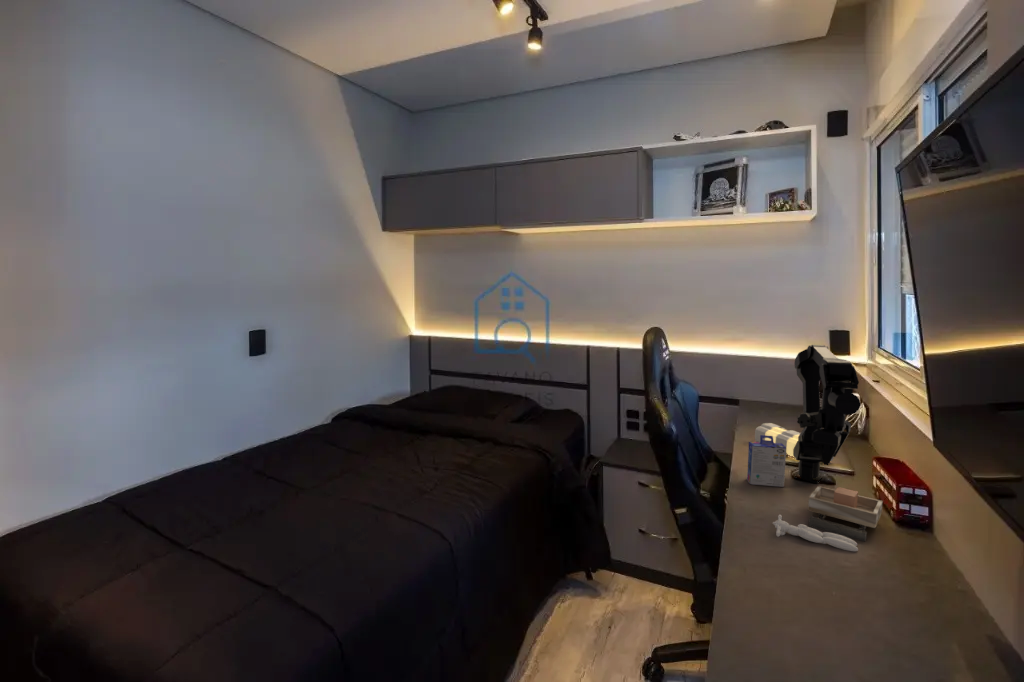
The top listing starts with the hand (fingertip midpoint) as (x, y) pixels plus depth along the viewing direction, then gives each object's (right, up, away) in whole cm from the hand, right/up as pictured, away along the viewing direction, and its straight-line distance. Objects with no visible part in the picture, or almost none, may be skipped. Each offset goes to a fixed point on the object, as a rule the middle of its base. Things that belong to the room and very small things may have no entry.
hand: (829, 460), depth 147 cm
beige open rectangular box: (-2, -13, -10) cm, 17 cm away
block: (-2, -10, -10) cm, 15 cm away
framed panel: (+1, -13, -6) cm, 14 cm away
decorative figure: (-16, -15, -20) cm, 30 cm away
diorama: (+12, -8, +43) cm, 46 cm away
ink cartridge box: (-11, -10, +15) cm, 21 cm away
